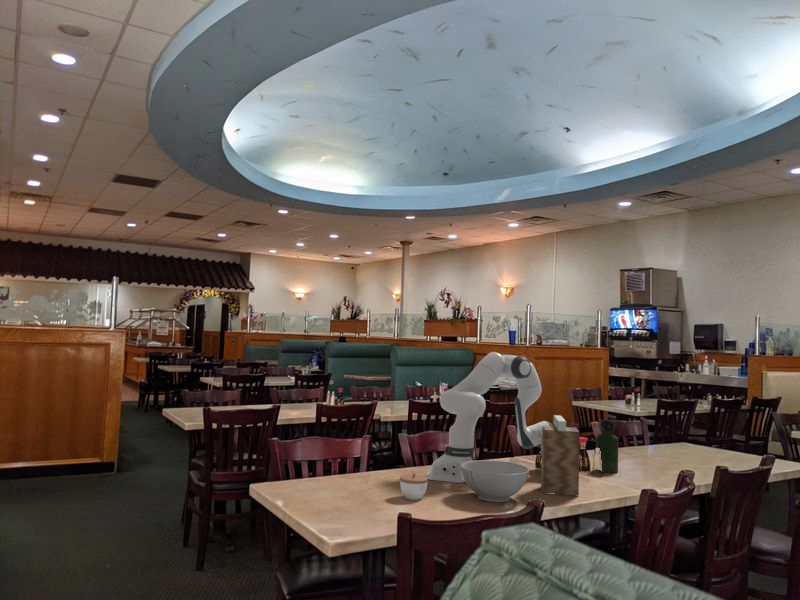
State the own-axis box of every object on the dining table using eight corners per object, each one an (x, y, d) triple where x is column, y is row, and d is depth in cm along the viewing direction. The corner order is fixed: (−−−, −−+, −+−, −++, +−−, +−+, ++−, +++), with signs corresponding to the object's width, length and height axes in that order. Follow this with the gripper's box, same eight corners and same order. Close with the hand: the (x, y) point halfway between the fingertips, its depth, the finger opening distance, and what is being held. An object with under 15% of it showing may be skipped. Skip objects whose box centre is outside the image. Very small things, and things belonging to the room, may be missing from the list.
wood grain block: (543, 493, 250) (544, 429, 252) (541, 486, 262) (542, 425, 264) (578, 496, 248) (579, 431, 250) (574, 489, 260) (575, 427, 262)
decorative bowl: (449, 500, 235) (450, 468, 236) (474, 486, 259) (474, 457, 260) (516, 511, 223) (517, 477, 223) (536, 496, 246) (537, 465, 247)
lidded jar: (399, 493, 242) (400, 469, 243) (426, 495, 242) (427, 471, 242) (398, 500, 231) (399, 475, 232) (427, 502, 231) (428, 477, 232)
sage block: (558, 430, 250) (558, 421, 251) (553, 424, 271) (553, 415, 271) (565, 431, 250) (566, 421, 250) (560, 424, 270) (560, 415, 271)
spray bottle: (609, 468, 308) (610, 418, 309) (622, 473, 298) (622, 421, 299) (591, 468, 305) (592, 418, 306) (603, 473, 295) (604, 421, 296)
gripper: (529, 434, 293) (531, 422, 281) (573, 436, 290) (577, 425, 278) (529, 446, 289) (531, 435, 278) (574, 449, 286) (578, 438, 275)
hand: (555, 430), depth 278 cm, fingers open, 8 cm apart
